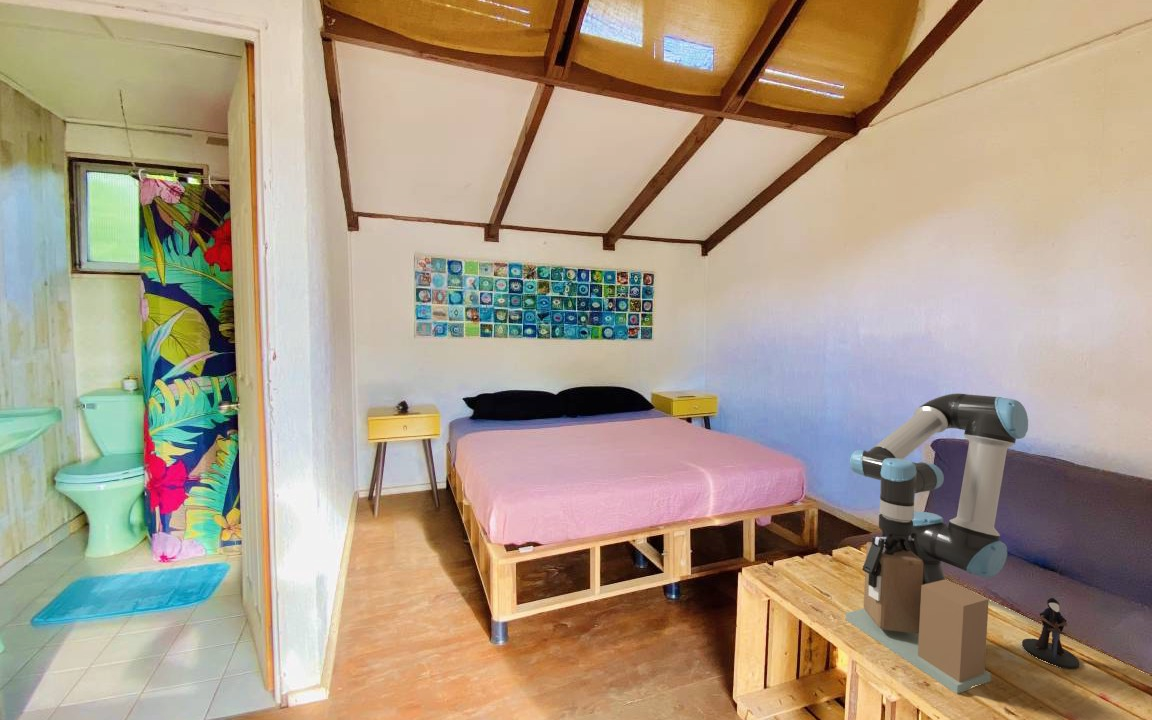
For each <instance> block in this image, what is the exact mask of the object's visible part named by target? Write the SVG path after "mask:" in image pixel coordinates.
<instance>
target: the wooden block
mask: <svg viewBox="0 0 1152 720" xmlns="http://www.w3.org/2000/svg"><path fill="white" fill-rule="evenodd" d="M871 545H872V541H867V542H866V547H865V548H866V549H865V559H866V558H867V555H868V553H869V550H870V547H871ZM884 549H886V548H885V547H884ZM886 550H887V549H886ZM888 551H889V550H888ZM879 561H880V564H881V572H880V574H879V576H881V595H880V601H877V600H876V599H874V598H872V597H871V596H869V595H868V594H869V584H868V581H869V574H868V573H867V572H865V571H864V591H863V592H864V594H863V595H864V596H863V609H865V610H866V612H867V613H868V614H869V616H870V617H871V618H872V619H873V621H874V622H875V623H876V624H877V626H878V627H879V628H881V629H883V630H891V631H899V632H908V633H916V634H917V633H919V623H920V604H921V585H923V566H924V564H923V561H922V560H921V559H920V558H919V557H918V556H917V555H915V554H914V553H913V552H912V551H906V550H902V551H898V552H894V554H893V555H890V554H885V553H883V552H882V554H881V557H880V560H879ZM875 571H876V570H875Z"/></svg>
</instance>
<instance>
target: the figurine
mask: <svg viewBox="0 0 1152 720" xmlns="http://www.w3.org/2000/svg"><path fill="white" fill-rule="evenodd" d="M1046 603H1047V608H1045V610H1044V611H1041V612H1040V613H1039V619H1040V621H1041V623H1042V629H1041V631H1040V632H1041V633H1040V635H1039V638H1024V639H1023V640H1022V641H1021V642H1022V643H1021V646H1023V647H1024V649H1025V650H1026V651H1027V652H1028V653H1027V654H1029V653H1030V654H1031V655H1030V654H1029V655H1030V656H1032V655H1033V656H1034V657H1033V656H1032V657H1033V658H1035V657H1037V658H1038V659H1041V660H1043V661H1046V662H1048V663H1050V664H1053V665H1056V666H1058V667H1057V668H1059V667H1061V668H1060V669H1063V670H1078V669H1079V668H1080V663H1081V662H1080V660H1079V658H1078V657H1077V656H1075V654H1073V653H1072V652H1070V651H1068V650H1067V649H1065V648H1063V646H1062V643H1061V635H1067V633H1066V632H1063V630H1064V628H1065V627H1067V626H1068V623H1067V619H1065V618H1064V616H1063V615H1062V614H1061V611H1060V602H1059V601H1058V600H1057V599H1055V598H1054V597H1050V598H1049V599H1047V601H1046ZM1050 635H1051V637H1052V638H1051V642H1049V641H1050ZM1023 647H1022V648H1023ZM1024 649H1023V650H1024ZM1025 650H1024V651H1025ZM1026 651H1025V652H1026ZM1037 658H1036V659H1037ZM1038 659H1037V660H1038ZM1043 661H1042V662H1043ZM1050 664H1049V665H1050ZM1053 665H1052V666H1053Z"/></svg>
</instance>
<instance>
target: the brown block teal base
mask: <svg viewBox="0 0 1152 720" xmlns="http://www.w3.org/2000/svg"><path fill="white" fill-rule="evenodd" d="M989 601H990V599H989V598H987V597H985V596H983V595H981V594H979V593H977V592H975V591H973V590H970V589H967V588H965V586H961V585H959V584H957V583H955V582H953V581H950V580H948V579H946V578H945V580H941V581H937V582H932V583H928V584H924V585H921V604H920V623H919V633H917V634H916V633H908V632H899V631H891V630H883V629H881V628H879V627H878V626H877V624H876V623H875V622H874V621H873V619H872V618H871V617H870V616H869V614H868V613H867V612H866V610H865V609H864V608H861V609H856V610H853V611H848V612H845V620H846V621H847V622H848V623H850V624H852V625H853V626H855V627H856V628H857V629H859V631H862V632H863V633H865V634H867V635H868V636H870V637H871V638H872V639H874V640H875V641H877V642H879V643H880V644H881V645H883V646H884V647H886V648H887V649H889V650H890V651H891V652H893V653H894V654H896V655H898V656H899V657H901V658H902V659H904V660H905V661H906V662H908V663H910V664H912V665H913V666H914V667H915V668H917V669H918V670H920V671H922V672H923V673H925V674H926V675H928V676H929V677H930V678H932V679H934V680H935V681H937V682H938V683H940V684H941V685H943V686H944V687H946V688H947V689H949V690H951V691H952V692H953V693H955V694H956V695H958V694H961V693H963V692H965V691H968V689H969V690H971V689H970V688H971V687H972V686H975V685H979V684H983V685H985V684H987V682H988V683H990V682H991V680H992V679H991V678H992V677H991V676H992V673H991V672H989V671H988V670H986V668H985V667H986V653H987V638H988V637H987V636H988V635H987V634H988V633H987V632H988V617H989V603H990V602H989ZM984 683H985V684H984Z"/></svg>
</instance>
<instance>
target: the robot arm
mask: <svg viewBox="0 0 1152 720" xmlns="http://www.w3.org/2000/svg"><path fill="white" fill-rule="evenodd" d="M946 429H955V430H956V429H958V430H962V431H964V434H963V436H964V437H965V438H966V439H967V440H968V448H967V454H966V461H965V466H964V472H963V478H962V484H961V491H960V494H959V495H960V496H959V501H958V508H957V514H956V517H954V518H952V519H949V521H948V524H946V523H944V521H945V520H944V517H942V516H940V515H939V514H936V513H933V512H927V511H919V510H918V511H916V510H915V495H916V494H918V493H924V492H930V491H931V492H932V491H934V490H936V489H939V488H941V486H942V485H943V483H944V480H945V479H944V478H945V477H944V476H945V475H944V473H943V471H942V470H941V468H940V467H938V466H937V465H935V464H934V463H931V462H923V461H921V462H919V461H918V462H913V461H911V460H908V459H905V458H907V457H908V456H909V455H911V454H912V453H913V452H914V451H915V450H917V449H918V448H919V447H920V446H922V445H923V444H924V443H926V441H928V440H929V439H930V438H931V437H933V436H934V435H935V434H937V433H943V432H945V430H946ZM1028 429H1029V417H1028V414H1027V411H1026V409H1025V406H1024V405H1023V404H1022V403H1021V402H1020V401H1019V400H1017V399H1013V398H1007V397H1002V396H991V395H989V396H988V395H978V394H968V393H950V394H945V395H942V396H938V397H936V398H934V399H931V400H929V401H927V402H924V403H923V404H922V405H920V406H919V407H918V408H917V409H915V411H914V413H913V416H912V417H911V418H909V419H908V420H907V421H905V422H904V423H903V424H902V425H900V426H899V427H898V428H896V429H895V430H894V431H893V432H891V433H890V434H889V435H888V436H886V437H885V438H884V439H883V440H881V441H880V442H878V443H877V444H876V445H874V446H873V448H870V450H869V451H868V450H864V449H863V450H861V449H856V450H855V451H853V452H852V454H851V455H850V458H849V465H850V469H851V471H853V472H854V473H856V474H858V475H860V476H864V477H867V478H870V479H874V480H879V481H880V496H879V513H880V514H879V515H878V528H879V530H881V532H882V533H881V536H877V535H872V539H871V540H872V541H871V542H872V545H871V547H870V550H869V553H868V555H867V558H866V557H865V561H864V563H863V566H862V571H863V572H864V573H865V572H867V573H868V574H869V581H868V584H869V594H868V595H869V596H871V597H872V598H874V599H876V600H877V601H880V595H881V576H879V574H880V572H881V564H880V561H879V560H880V557H881V554H882V552H883V553H885V554H890V555H893V554H894V552H898V551H902V550H906V551H912V552H913V553H914V554H915V555H917V556H918V557H919V558H920V559H921V560H922V561H923V564H924V566H923V585H924V584H928V583H932V582H937V581H941V580H945V579H946V577H945V574H944V571H943V567H942V563H945V564H948V565H951V566H953V567H955V568H958V569H959V570H963V571H965V572H967V573H968V574H973V575H975V576H978V577H981V578H983V579H990V578H993V577H995V576H996V575H997V574H999V572H1000V571H1002V568H1003V567H1004V566H1005V564H1006V561H1007V558H1008V547H1007V545H1006V544H1005V543H1004V542H1002V541H1001V540H1000V536H1001V534H1000V533H999V531H997V529H996V527H995V524H996V518H997V511H998V505H999V499H1000V493H1001V488H1002V481H1003V475H1004V469H1005V463H1006V457H1007V452H1008V449H1009V448H1011V447H1013V446H1015V445H1016V440H1021V439H1023V438H1025V436H1026V435H1027V432H1028V431H1029V430H1028ZM884 547H885V548H886V549H887V550H886V549H884ZM888 550H889V551H888ZM941 562H942V563H941ZM875 570H876V571H875Z"/></svg>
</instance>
